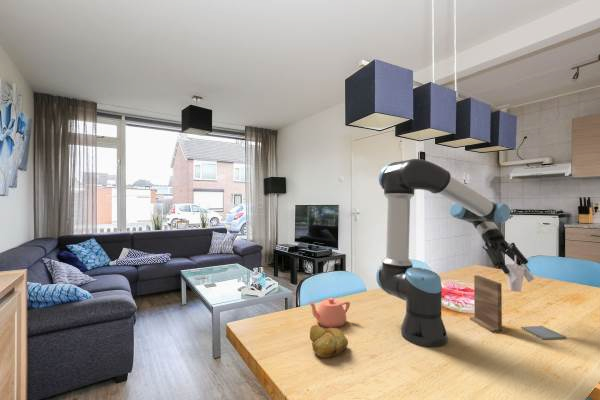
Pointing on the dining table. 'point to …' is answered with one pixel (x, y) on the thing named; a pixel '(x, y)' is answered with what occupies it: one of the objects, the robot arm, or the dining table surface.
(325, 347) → the bread roll
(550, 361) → the dining table surface
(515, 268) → the smoothie
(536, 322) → the dining table surface
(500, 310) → the screen
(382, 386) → the dining table surface
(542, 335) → the coaster
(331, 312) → the teapot
